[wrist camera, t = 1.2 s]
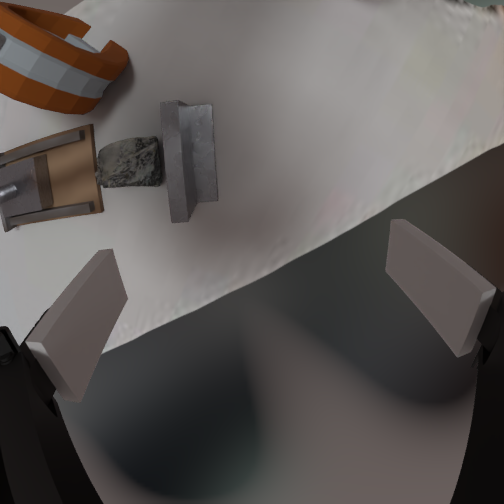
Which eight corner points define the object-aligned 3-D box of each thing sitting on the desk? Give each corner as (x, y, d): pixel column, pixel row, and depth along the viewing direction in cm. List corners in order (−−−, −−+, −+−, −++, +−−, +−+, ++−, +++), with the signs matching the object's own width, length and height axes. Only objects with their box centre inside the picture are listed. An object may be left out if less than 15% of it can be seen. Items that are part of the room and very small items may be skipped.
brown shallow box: (4, 152, 35) (-10, 156, 31) (93, 124, 36) (80, 124, 32) (16, 224, 40) (4, 232, 37) (104, 210, 41) (93, 218, 37)
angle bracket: (177, 108, 36) (160, 102, 27) (212, 104, 36) (205, 97, 27) (184, 201, 42) (171, 223, 33) (218, 199, 42) (214, 219, 33)
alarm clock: (146, 65, 33) (70, 17, 12) (105, 117, 35) (5, 120, 15) (64, 10, 26) (-17, -28, 5) (30, 56, 28) (-61, 44, 8)
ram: (7, 166, 34) (-49, 187, 21) (45, 153, 35) (-15, 171, 22) (15, 211, 38) (-37, 242, 25) (53, 203, 38) (-1, 236, 25)
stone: (104, 212, 31) (133, 135, 28) (79, 178, 35) (103, 113, 32) (161, 214, 40) (191, 150, 36) (130, 183, 43) (154, 127, 40)
